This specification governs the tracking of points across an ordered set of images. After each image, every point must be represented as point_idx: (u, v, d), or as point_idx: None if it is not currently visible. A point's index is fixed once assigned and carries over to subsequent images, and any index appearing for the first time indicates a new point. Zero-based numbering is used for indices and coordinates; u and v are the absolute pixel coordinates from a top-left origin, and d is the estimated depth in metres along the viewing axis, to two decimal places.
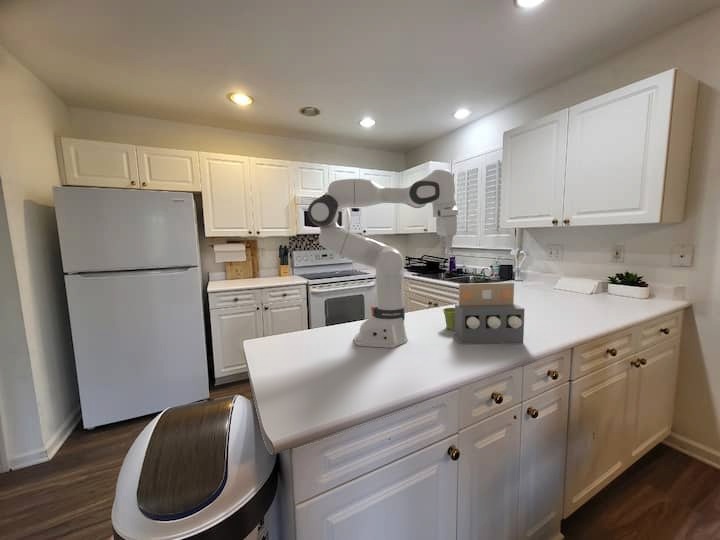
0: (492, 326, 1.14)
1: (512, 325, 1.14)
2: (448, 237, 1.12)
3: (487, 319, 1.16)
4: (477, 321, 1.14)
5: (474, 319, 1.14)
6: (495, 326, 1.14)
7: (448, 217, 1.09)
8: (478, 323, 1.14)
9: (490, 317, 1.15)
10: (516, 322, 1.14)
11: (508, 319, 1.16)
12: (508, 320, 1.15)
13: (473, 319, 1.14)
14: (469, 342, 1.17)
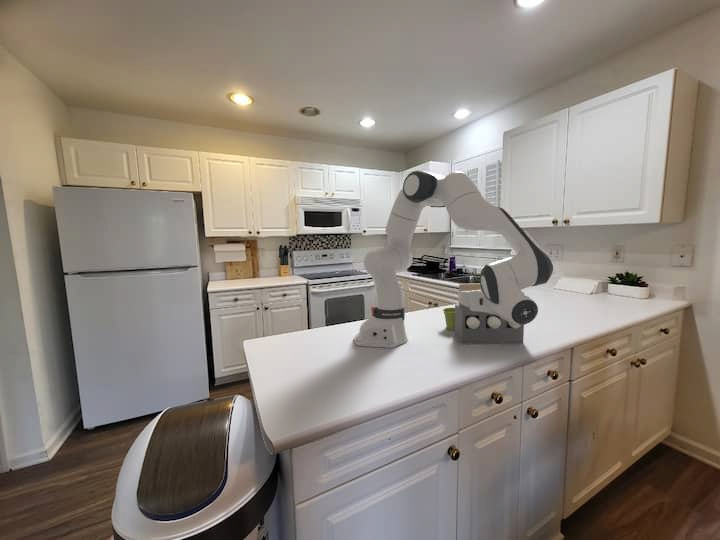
0: (492, 326, 1.14)
1: (512, 325, 1.14)
2: None
3: (487, 319, 1.16)
4: (477, 321, 1.14)
5: (474, 319, 1.14)
6: (495, 326, 1.14)
7: (467, 298, 0.95)
8: (478, 323, 1.14)
9: (490, 317, 1.15)
10: None
11: None
12: None
13: (473, 319, 1.14)
14: (469, 342, 1.17)
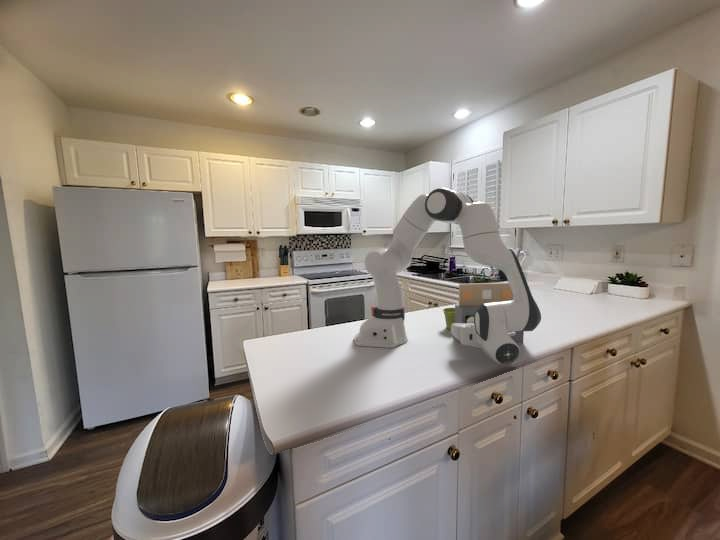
0: None
1: None
2: None
3: None
4: None
5: None
6: None
7: (459, 332, 1.04)
8: None
9: None
10: None
11: None
12: None
13: (473, 319, 1.15)
14: None
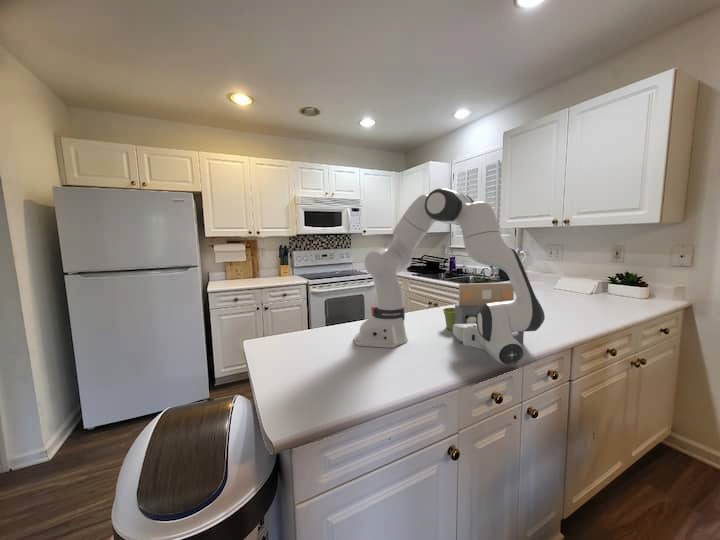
0: None
1: None
2: None
3: None
4: None
5: (473, 318, 1.15)
6: None
7: (461, 332, 1.02)
8: None
9: None
10: None
11: None
12: None
13: (472, 318, 1.15)
14: None
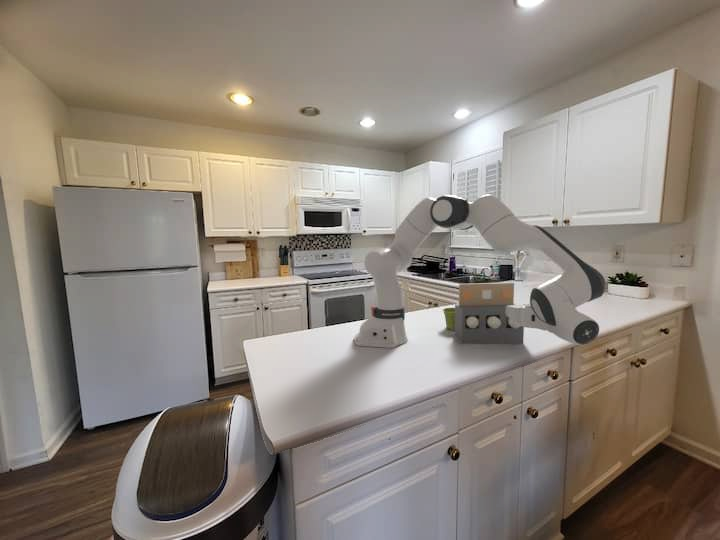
0: (492, 326, 1.14)
1: (512, 325, 1.14)
2: None
3: (487, 319, 1.16)
4: (476, 320, 1.15)
5: (473, 318, 1.15)
6: (495, 326, 1.14)
7: (518, 313, 0.94)
8: (477, 322, 1.16)
9: (490, 317, 1.15)
10: (516, 322, 1.14)
11: (508, 319, 1.16)
12: (508, 320, 1.15)
13: (472, 318, 1.15)
14: (469, 342, 1.17)
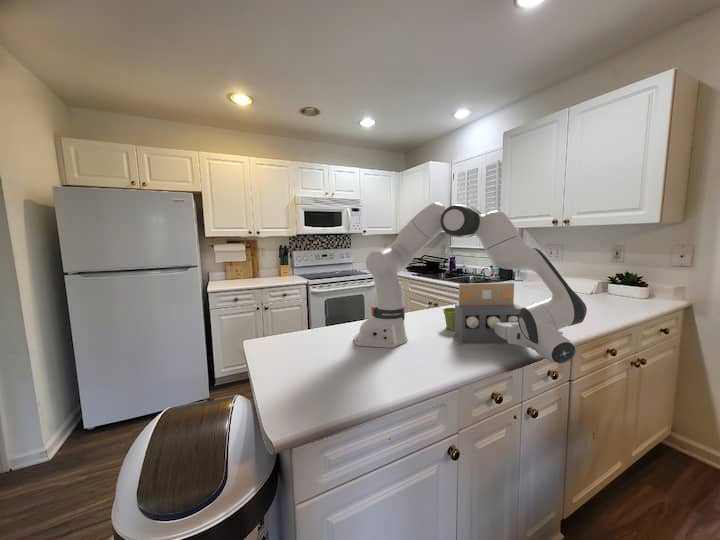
0: (492, 326, 1.14)
1: None
2: None
3: (487, 319, 1.16)
4: (476, 320, 1.15)
5: (473, 318, 1.15)
6: None
7: (505, 331, 1.03)
8: (477, 322, 1.16)
9: (490, 317, 1.15)
10: None
11: (507, 319, 1.16)
12: (507, 320, 1.16)
13: (472, 318, 1.15)
14: (469, 342, 1.17)
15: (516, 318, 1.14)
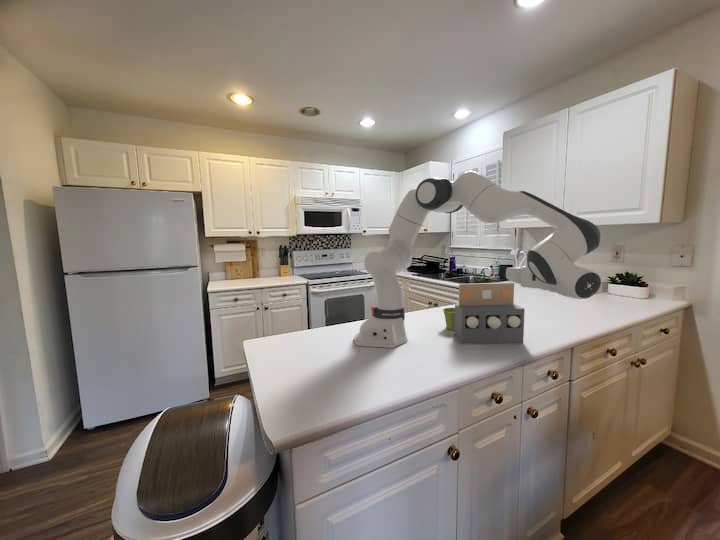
0: (492, 326, 1.14)
1: (511, 324, 1.15)
2: None
3: (487, 319, 1.16)
4: (476, 320, 1.15)
5: (473, 318, 1.15)
6: (495, 326, 1.14)
7: (518, 274, 0.93)
8: (477, 322, 1.16)
9: (490, 317, 1.15)
10: (514, 322, 1.15)
11: (507, 318, 1.17)
12: (507, 319, 1.17)
13: (472, 318, 1.15)
14: (469, 342, 1.17)
15: (515, 318, 1.15)
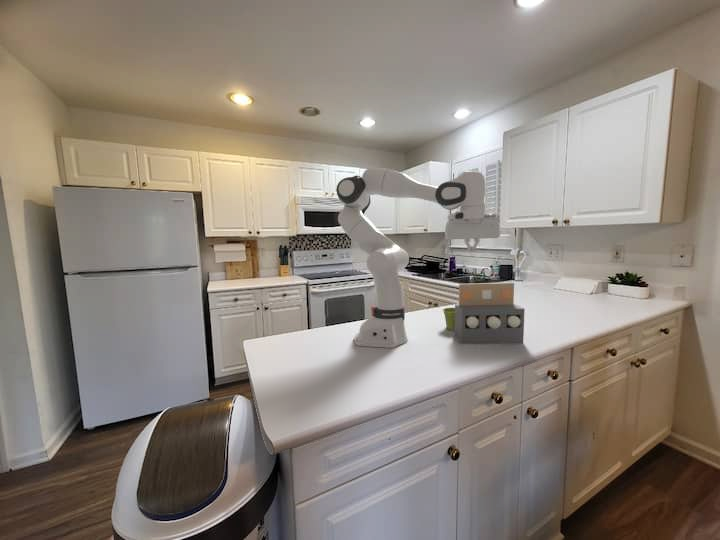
0: (492, 326, 1.14)
1: (511, 324, 1.15)
2: (464, 240, 1.15)
3: (487, 319, 1.16)
4: (476, 320, 1.15)
5: (473, 318, 1.15)
6: (495, 326, 1.14)
7: (448, 221, 1.15)
8: (477, 322, 1.16)
9: (490, 317, 1.15)
10: (514, 322, 1.15)
11: (507, 318, 1.17)
12: (507, 319, 1.17)
13: (472, 318, 1.15)
14: (469, 342, 1.17)
15: (515, 318, 1.15)
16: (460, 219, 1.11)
